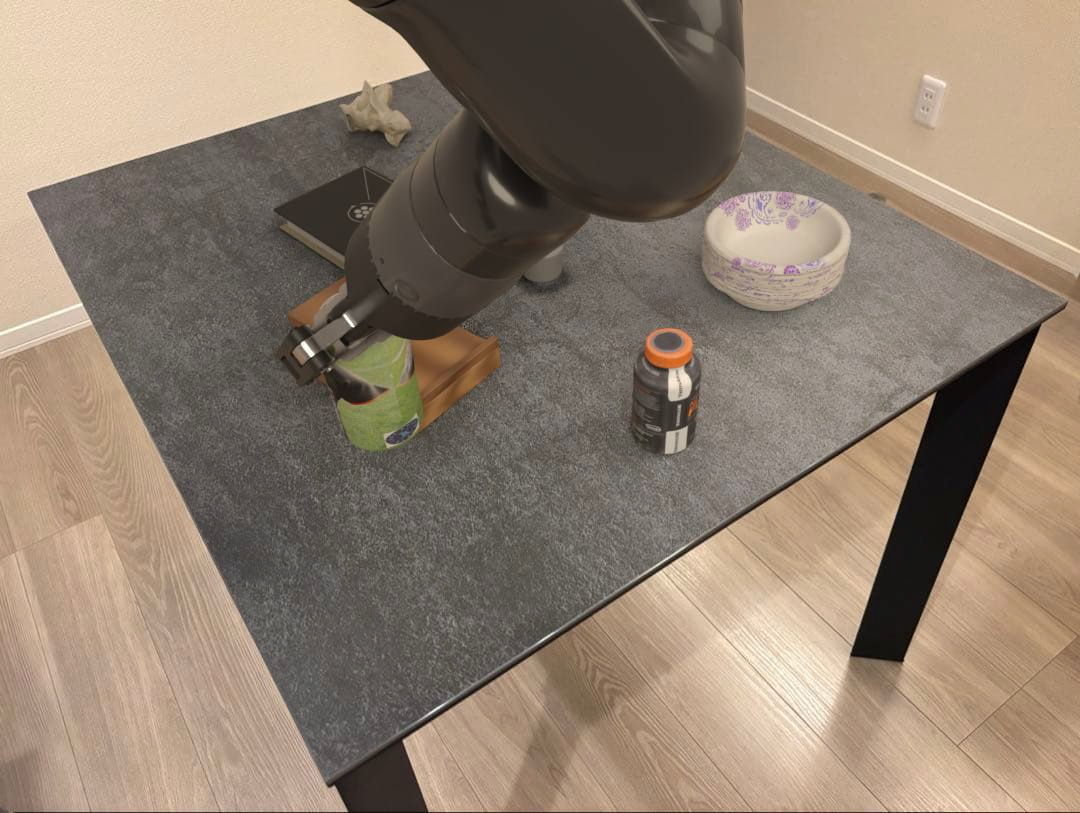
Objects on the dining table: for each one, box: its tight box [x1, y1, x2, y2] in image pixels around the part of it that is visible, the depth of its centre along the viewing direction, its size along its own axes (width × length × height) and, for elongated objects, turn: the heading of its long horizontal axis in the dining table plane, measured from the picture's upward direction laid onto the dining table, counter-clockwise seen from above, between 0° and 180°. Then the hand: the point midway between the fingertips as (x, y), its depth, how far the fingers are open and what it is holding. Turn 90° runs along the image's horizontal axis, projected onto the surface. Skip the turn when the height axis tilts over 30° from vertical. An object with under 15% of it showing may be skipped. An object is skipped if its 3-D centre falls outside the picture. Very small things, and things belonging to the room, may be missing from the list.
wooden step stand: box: [286, 275, 502, 438], centre depth 84 cm, size 13×16×8 cm
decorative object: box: [338, 79, 413, 148], centre depth 122 cm, size 9×14×8 cm, turn 34°
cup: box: [523, 243, 565, 283], centre depth 94 cm, size 7×7×12 cm
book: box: [272, 165, 395, 273], centre depth 105 cm, size 22×15×3 cm
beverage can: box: [320, 293, 423, 452], centre depth 57 cm, size 6×7×12 cm
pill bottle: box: [631, 327, 702, 455], centre depth 74 cm, size 6×6×11 cm
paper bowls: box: [700, 190, 852, 312], centre depth 90 cm, size 15×15×8 cm
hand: (342, 339), depth 56 cm, fingers closed on beverage can, 6 cm apart
